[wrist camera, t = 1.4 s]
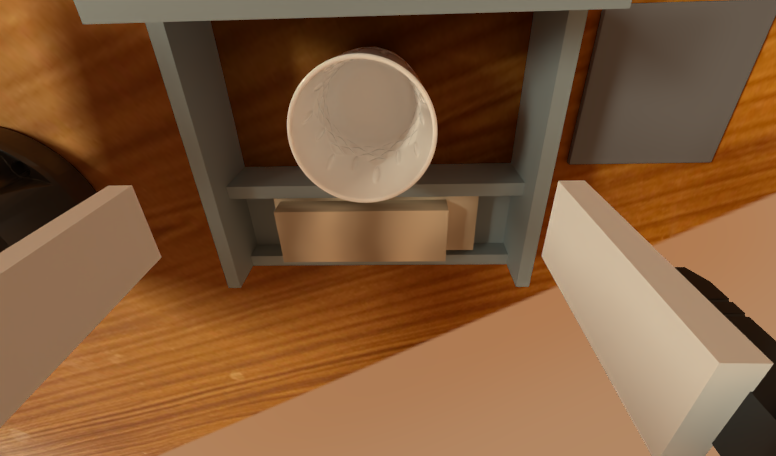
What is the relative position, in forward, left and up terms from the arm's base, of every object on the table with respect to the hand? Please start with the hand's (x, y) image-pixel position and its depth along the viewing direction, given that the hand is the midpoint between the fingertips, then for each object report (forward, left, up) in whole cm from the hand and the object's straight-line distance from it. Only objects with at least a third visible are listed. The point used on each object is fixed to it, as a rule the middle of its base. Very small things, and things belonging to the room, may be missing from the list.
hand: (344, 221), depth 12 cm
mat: (+21, 0, -19) cm, 28 cm away
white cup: (0, 0, -19) cm, 19 cm away
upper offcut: (-1, -9, -16) cm, 18 cm away
